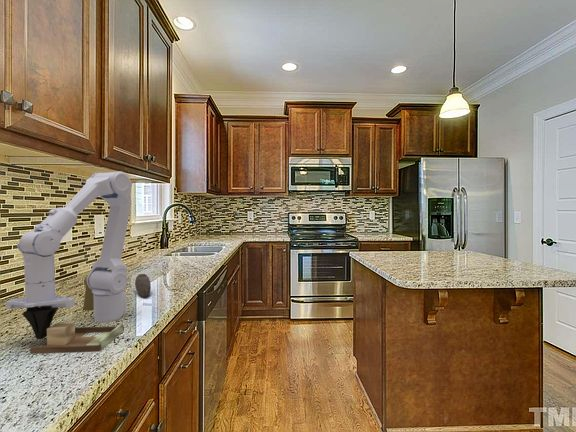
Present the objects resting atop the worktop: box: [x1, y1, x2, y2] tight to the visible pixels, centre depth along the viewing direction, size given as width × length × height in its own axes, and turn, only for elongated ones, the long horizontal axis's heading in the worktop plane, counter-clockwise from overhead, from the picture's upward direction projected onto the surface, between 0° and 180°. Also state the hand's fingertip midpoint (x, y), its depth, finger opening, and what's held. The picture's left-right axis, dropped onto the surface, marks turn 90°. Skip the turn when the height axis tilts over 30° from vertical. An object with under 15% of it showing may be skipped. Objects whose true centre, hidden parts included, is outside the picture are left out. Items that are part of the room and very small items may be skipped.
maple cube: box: [46, 321, 76, 346], centre depth 78 cm, size 4×4×4 cm
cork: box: [83, 275, 94, 311], centre depth 108 cm, size 6×6×11 cm
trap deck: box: [29, 323, 125, 355], centre depth 78 cm, size 12×15×4 cm
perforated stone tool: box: [134, 273, 152, 297], centre depth 124 cm, size 15×5×7 cm, turn 28°
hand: (42, 337), depth 77 cm, fingers closed
